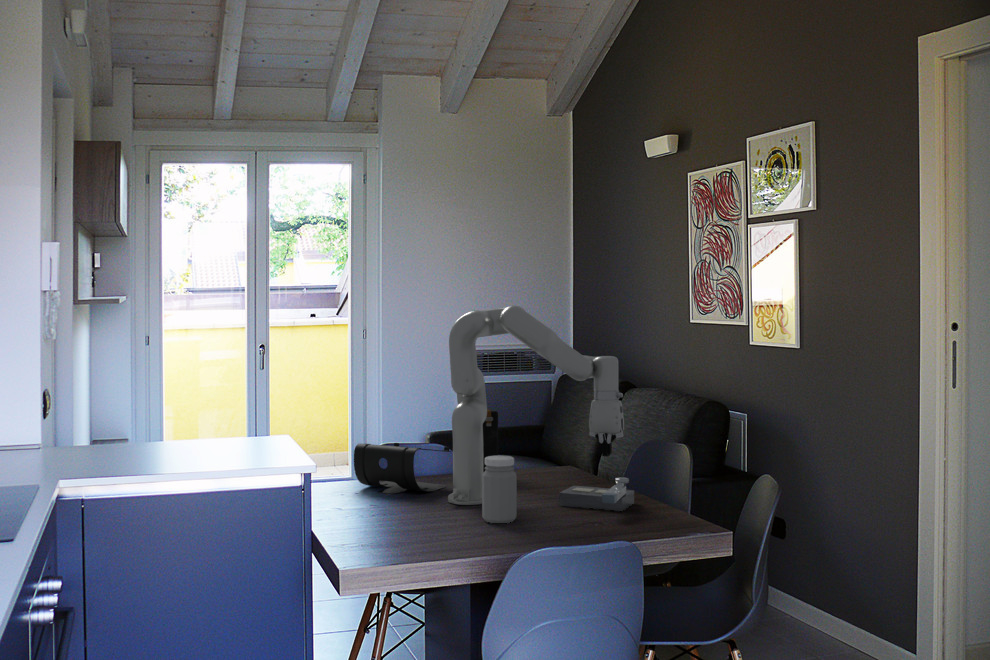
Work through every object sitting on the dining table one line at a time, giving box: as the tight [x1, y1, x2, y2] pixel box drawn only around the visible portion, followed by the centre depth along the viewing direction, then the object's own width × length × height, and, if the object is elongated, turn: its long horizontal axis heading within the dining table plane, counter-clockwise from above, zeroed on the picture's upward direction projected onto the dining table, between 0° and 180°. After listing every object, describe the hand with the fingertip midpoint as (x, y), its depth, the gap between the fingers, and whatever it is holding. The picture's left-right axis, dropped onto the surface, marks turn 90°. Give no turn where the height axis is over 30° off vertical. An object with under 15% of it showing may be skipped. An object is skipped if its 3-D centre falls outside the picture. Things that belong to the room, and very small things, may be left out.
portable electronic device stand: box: [353, 442, 453, 495], centre depth 304 cm, size 26×24×16 cm
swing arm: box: [602, 476, 630, 504], centre depth 267 cm, size 4×20×4 cm, turn 160°
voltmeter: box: [483, 408, 499, 473], centre depth 324 cm, size 16×9×25 cm, turn 25°
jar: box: [481, 454, 518, 524], centre depth 255 cm, size 10×10×18 cm
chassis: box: [558, 483, 635, 512], centre depth 278 cm, size 13×20×7 cm, turn 65°
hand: (606, 455), depth 276 cm, fingers closed
